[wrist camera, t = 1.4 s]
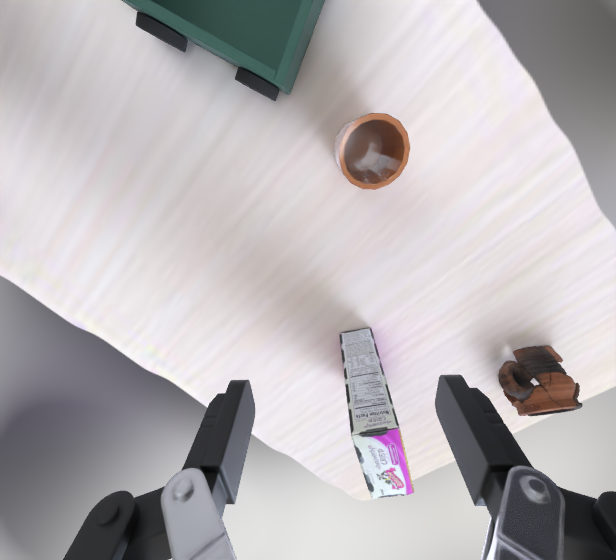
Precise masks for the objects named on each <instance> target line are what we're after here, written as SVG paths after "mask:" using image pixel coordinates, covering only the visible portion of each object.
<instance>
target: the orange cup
mask: <svg viewBox="0 0 616 560" xmlns="http://www.w3.org/2000/svg"><path fill="white" fill-rule="evenodd" d="M409 151H410V144H409V139H408V134H407V132H406V130H405V129H404V127H403V126H402V124H401V123H400V121H399V120H397V119H395V118H393V117H392V116H390V115H388V114H381V113H371V114H369V115H366V116H363V117H361V118H358V119H356V120H353V121H351V122H348V123H347V124H346V125H345V126H344V127H343V128H342V129H341V130H340V131H339V133H338V135H337V137H336V139H335V143H334V155H335V158H336V162H337V164H338V165H339V167H340V169H341V171H342V172H343V174H344V175H345V176H346V177H347V179H348V180H349V181H350V182H351V183H352V184H354V185H356V186H358V187H360V188H362V189H374V190H375V189H379V188H381V187H384V186H387V185H389V184H390V183H392V182H393V181H394V180H395V179H396V178H398V177H399V175H400V174H401V173H402V171H403V169H404V167H405V166H406V164H407V162H408V156H409Z"/></svg>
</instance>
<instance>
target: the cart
mask: <svg viewBox="0 0 616 560" xmlns="http://www.w3.org/2000/svg"><path fill="white" fill-rule="evenodd" d="M122 1H123V2H125V3H126V4H128V5H129V6H131V7H132V8H134V9H135V10H137V11H138V12H141V13H143V14H145V15H147V16H149V17H151V18H152V19H154V20H156V21H158V22H160V23H161V24H163V25H165V26H166V27H168V28H170V29H172V30H173V31H175V32H177V33H178V34H180V35H181V36H183V37H184V38H186V39H188V40H190V41H191V42H193V43H195V44H197V45H199V46H201V47H202V48H204V49H206V50H208V51H210V52H212V53H213V54H215V55H217V56H219V57H221V58H222V59H224V60H226V61H228V62H230V63H232V64H233V65H235V66H237V67H240V68H243V69H245V70H247V71H249V72H251V73H253V74H254V75H256V76H258V77H260V78H262V79H263V80H265V81H267V82H268V83H270V84H272V85H273V86H275V87H276V88H278V89H279V90H281V91H283V92H284V93H286V94H288V95H289V94H290V92H291V89H292V87H293V84H294V81H295V79H296V76H297V73H298V71H299V68H300V65H301V63H302V60H303V57H304V55H305V52H306V49H307V47H308V44H309V41H310V39H311V36H312V33H313V30H314V28H315V25H316V22H317V20H318V17H319V14H320V12H321V9H322V6H323V4H324V1H325V0H122Z"/></svg>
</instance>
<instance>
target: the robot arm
mask: <svg viewBox="0 0 616 560" xmlns="http://www.w3.org/2000/svg"><path fill="white" fill-rule="evenodd" d="M435 407H436V412H437V416H438V418H439V421H440V423H441V426H442V428H443V430H444V433H445V435H446V438H447V440H448V442H449V445H450V447H451V450H452V452H453V454H454V457H455V459H456V462H457V464H458V466H459V469H460V471H461V474H462V476H463V478H464V481H465V483H466V486H467V488H468V490H469V493H470V495H471V498H472V500H473V502H474V505H475V506H487V509H488V511H489V513H490V515H491V518H490V521H489V526H488V530H487V535H486V539H485V543H484V548H483V552H482V557H481V560H616V492H613V491H612V492H611V491H610V492H604V493H602V494H601V495H600V497H599V498H598V499H595V498H592V497H588V496H585V495H581V494H578V493H575V492H572V491H568V490H566V489H563V488H560V487H558V486H557V485H556V484H555V483H554V482H553V481H552V480H551V479H550V478H549V477H547V476H546V475H545V474H543V473H542V472H540V471H538V470H536V469H534V468H533V467H532V465H531V464H530V462H529V461H528V459H527V457H526V456H525V454H524V453H523V451H522V450H521V448H520V447H519V445H518V443H517V442H516V440H515V439H514V437H513V436H512V434H511V432H510V431H509V429H508V428H507V426H506V425H505V424H504V423H503V420H502V418H501V417H500V415H499V414H498V413H497V410H496V409H495V407H494V406H493V404H492V403H491V401H490V400H489V398H488V397H487V396H485V395H484V394H483V393H482V392H481V391H480V390H478V389H477V388H469V387H468V385H467V383H466V382H465V380H464V378H463V377H462V376H461V375H441V376H440V377H439V382H438V388H437V393H436V399H435ZM254 418H255V403H254V399H253V394H252V390H251V385H250V382H249V380H231V381H230V383H229V385H228V388H227V391H226V393H224V394H217V396H216V397H215V398H214V399H213V400H212V401H211V402H210V404H209V406H208V408H207V411H206V413H205V417H204V418H203V420H202V423H201V427H200V428H199V430H198V433H197V435H196V437H195V440H194V443H193V445H192V447H191V450H190V452H189V454H188V457H187V460H186V462H185V464H184V466H183V468H182V470H181V471H180V472H178V473H177V474H176V475H174V476H173V477H172V478H171V479H170V480H169V482H168V483H167V484H166V486H164V487H162V488H160V489H158V490H155V491H152V492H149V493H146V494H144V495H141V496H138V497H135V498H134V497H133V496H132V494H131V493H129V492H127V491H118V492H114V493H112V494H110V495H108V496H106V497H105V498H104V499H102V500H101V501H100V502H99V503H98V504H97V505H96V506H95V507H94V508H93V509H92V510H91V512H90V513H89V515H88V516H87V518H86V520H85V521H84V523H83V525H82V527H81V529H80V530H79V532H78V534H77V536H76V538H75V539H74V541H73V543H72V545H71V547H70V548H69V550H68V552H67V554H66V555H65V557H64V559H63V560H168V559H171V558H172V559H173V560H237V559H236V556H235V553H234V551H233V548H232V545H231V542H230V539H229V537H228V534H227V531H226V528H225V526H224V523H223V520H222V516H223V512H224V508H225V504H235V500H236V496H237V492H238V488H239V483H240V479H241V475H242V470H243V466H244V462H245V457H246V453H247V449H248V444H249V440H250V436H251V431H252V427H253V423H254Z"/></svg>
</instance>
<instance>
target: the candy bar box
mask: <svg viewBox="0 0 616 560" xmlns="http://www.w3.org/2000/svg"><path fill="white" fill-rule="evenodd" d="M340 342H341V352H342V360H343V369H344V377H345V386H346V395H347V403H348V410H349V418H350V428H351V437H352V440H353V443H354V447H355V450H356V453H357V456H358V459H359V462H360V465H361V468H362V471H363V474H364V477H365V480H366V483H367V486H368V489H369V492H370V495H371V497H372V498H380V497H391V496H397V495H403V496H404V495H408V494H411V493H413V492H414V490H413V485H412V481H411V476H410V471H409V467H408V462H407V458H406V453H405V449H404V444H403V440H402V436H401V432H400V428H399V424H398V421H397V417H396V414H395V410H394V407H393V403H392V399H391V396H390V392H389V389H388V385H387V382H386V378H385V375H384V372H383V368H382V365H381V361H380V358H379V354H378V351H377V347H376V344H375V340H374V337H373V333H372V330H371V328H364V329H360V330H356V331H350V332H345V333H340Z"/></svg>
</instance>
